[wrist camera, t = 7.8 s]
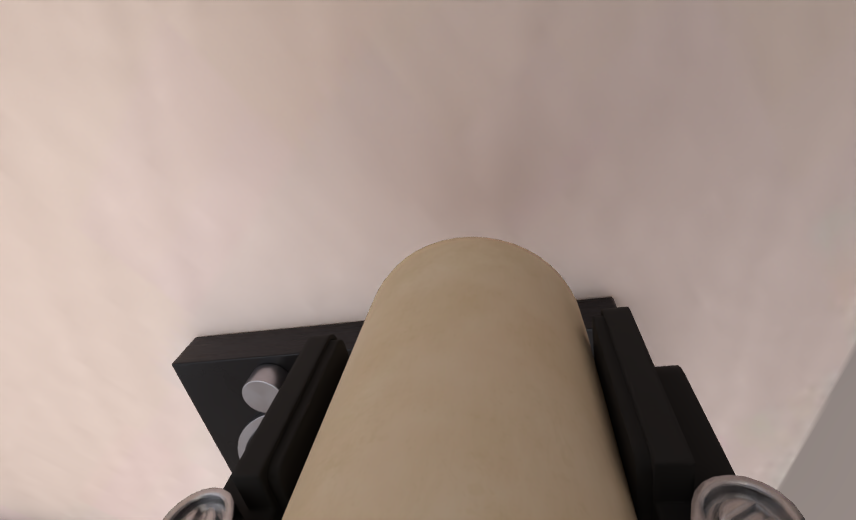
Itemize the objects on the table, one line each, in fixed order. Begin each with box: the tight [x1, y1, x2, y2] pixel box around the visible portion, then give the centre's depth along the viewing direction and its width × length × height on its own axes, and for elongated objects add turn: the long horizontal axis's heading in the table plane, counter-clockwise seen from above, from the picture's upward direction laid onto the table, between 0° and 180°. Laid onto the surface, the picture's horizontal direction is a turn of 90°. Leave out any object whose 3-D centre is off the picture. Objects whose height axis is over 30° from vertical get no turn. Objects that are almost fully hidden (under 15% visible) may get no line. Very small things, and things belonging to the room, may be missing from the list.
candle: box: [282, 237, 638, 520], centre depth 8 cm, size 6×6×10 cm
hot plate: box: [172, 297, 617, 472], centre depth 25 cm, size 12×21×3 cm, turn 102°
